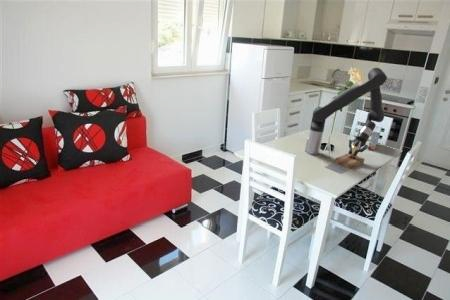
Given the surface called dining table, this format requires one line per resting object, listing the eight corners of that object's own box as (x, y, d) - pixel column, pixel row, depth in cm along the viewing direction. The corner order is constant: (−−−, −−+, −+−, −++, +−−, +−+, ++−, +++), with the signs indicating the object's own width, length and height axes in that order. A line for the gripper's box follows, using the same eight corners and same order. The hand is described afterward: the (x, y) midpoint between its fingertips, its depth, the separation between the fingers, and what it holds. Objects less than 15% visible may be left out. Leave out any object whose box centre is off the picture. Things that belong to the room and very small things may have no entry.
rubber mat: (324, 167, 207) (324, 167, 207) (332, 164, 214) (332, 163, 213) (340, 174, 199) (341, 173, 199) (348, 170, 205) (348, 170, 205)
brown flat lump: (334, 163, 215) (335, 158, 214) (347, 157, 227) (348, 153, 226) (350, 169, 207) (352, 164, 206) (363, 163, 219) (364, 158, 218)
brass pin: (348, 159, 219) (351, 146, 215) (350, 158, 220) (354, 145, 217) (352, 161, 216) (356, 147, 213) (354, 160, 218) (358, 146, 215)
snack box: (374, 151, 244) (379, 132, 238) (367, 149, 246) (371, 131, 240) (377, 143, 261) (382, 126, 255) (370, 142, 263) (374, 124, 258)
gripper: (353, 128, 221) (341, 148, 218) (373, 134, 211) (360, 155, 208) (355, 134, 226) (343, 154, 223) (374, 140, 217) (362, 161, 214)
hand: (351, 154), depth 216 cm, fingers closed on brass pin, 3 cm apart
